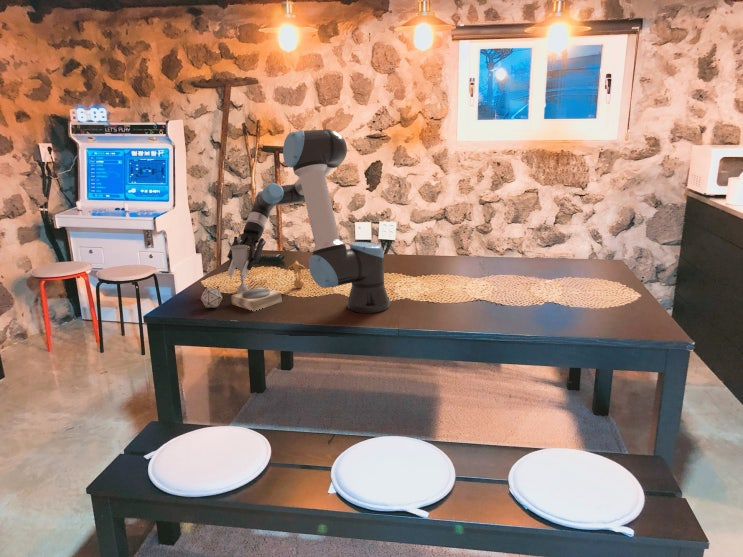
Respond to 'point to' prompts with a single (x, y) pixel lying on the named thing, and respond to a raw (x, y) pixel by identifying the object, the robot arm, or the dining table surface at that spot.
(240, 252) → the chalice
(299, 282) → the figurine
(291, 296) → the dining table surface
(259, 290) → the pedestal
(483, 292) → the dining table surface
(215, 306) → the game die
